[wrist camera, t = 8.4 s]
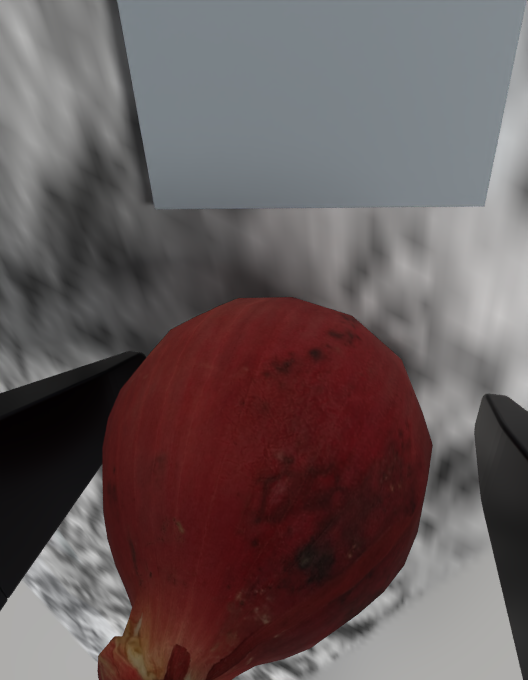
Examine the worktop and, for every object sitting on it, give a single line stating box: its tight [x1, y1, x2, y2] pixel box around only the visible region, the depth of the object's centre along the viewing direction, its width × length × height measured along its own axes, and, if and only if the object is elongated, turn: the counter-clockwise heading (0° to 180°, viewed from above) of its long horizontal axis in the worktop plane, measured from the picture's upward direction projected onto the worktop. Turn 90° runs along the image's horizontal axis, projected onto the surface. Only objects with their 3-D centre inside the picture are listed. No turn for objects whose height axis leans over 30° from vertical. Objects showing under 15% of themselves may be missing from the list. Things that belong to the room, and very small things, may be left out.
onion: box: [98, 297, 433, 680], centre depth 7 cm, size 6×6×8 cm
